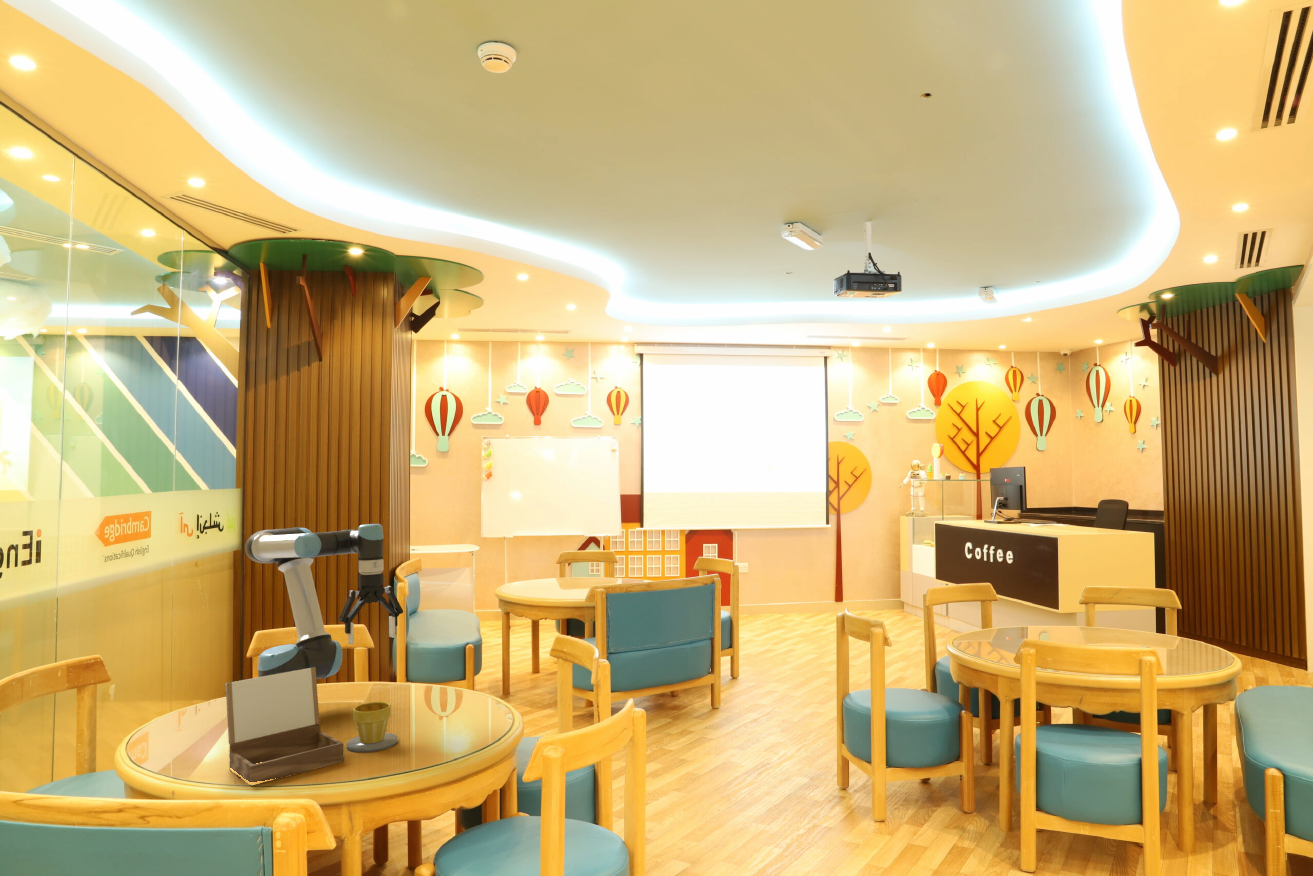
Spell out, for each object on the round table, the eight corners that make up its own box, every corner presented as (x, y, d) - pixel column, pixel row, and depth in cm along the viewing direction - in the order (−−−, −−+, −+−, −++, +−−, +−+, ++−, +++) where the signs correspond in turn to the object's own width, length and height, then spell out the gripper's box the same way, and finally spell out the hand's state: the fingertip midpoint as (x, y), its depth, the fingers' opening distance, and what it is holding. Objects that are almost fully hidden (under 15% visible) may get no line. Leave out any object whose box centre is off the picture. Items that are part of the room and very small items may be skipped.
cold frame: (229, 770, 219) (229, 744, 219) (318, 748, 236) (318, 723, 236) (250, 786, 207) (250, 758, 207) (343, 761, 224) (343, 735, 224)
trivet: (338, 745, 238) (338, 741, 238) (384, 733, 248) (384, 729, 248) (359, 756, 228) (359, 751, 228) (406, 743, 238) (406, 739, 238)
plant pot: (379, 746, 232) (378, 712, 232) (346, 745, 234) (346, 710, 234) (397, 735, 242) (397, 702, 242) (366, 734, 244) (365, 701, 244)
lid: (225, 741, 222) (225, 682, 223) (314, 721, 239) (313, 666, 239) (230, 744, 219) (230, 684, 220) (319, 724, 236) (319, 668, 237)
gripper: (337, 578, 246) (337, 648, 245) (413, 569, 264) (414, 635, 263) (327, 576, 252) (327, 645, 251) (402, 568, 269) (403, 633, 268)
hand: (371, 640), depth 257 cm, fingers open, 13 cm apart
